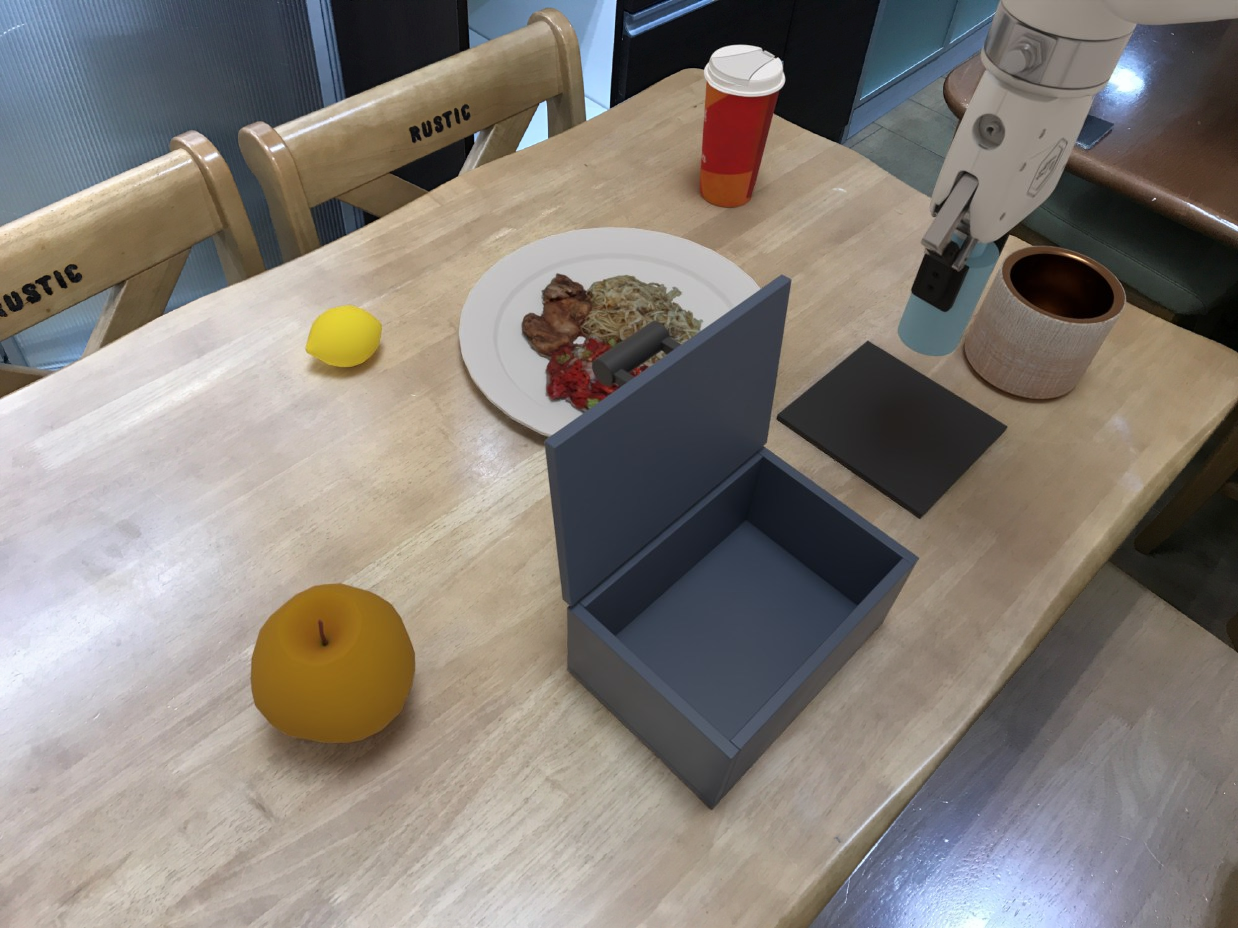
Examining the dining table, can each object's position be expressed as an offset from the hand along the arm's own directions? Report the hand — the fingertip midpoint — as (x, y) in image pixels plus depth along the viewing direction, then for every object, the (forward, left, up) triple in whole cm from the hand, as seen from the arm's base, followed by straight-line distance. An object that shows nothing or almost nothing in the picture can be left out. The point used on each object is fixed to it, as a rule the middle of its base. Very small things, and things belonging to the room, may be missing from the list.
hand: (951, 282), depth 66 cm
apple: (+11, +49, -16) cm, 53 cm away
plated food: (+24, +10, -16) cm, 31 cm away
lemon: (+39, +30, -16) cm, 52 cm away
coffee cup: (+33, -16, -16) cm, 40 cm away
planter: (-4, -16, -16) cm, 23 cm away
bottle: (0, 0, -5) cm, 5 cm away
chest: (-4, +27, -16) cm, 32 cm away
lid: (+3, +27, 0) cm, 27 cm away
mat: (0, 0, -16) cm, 16 cm away
